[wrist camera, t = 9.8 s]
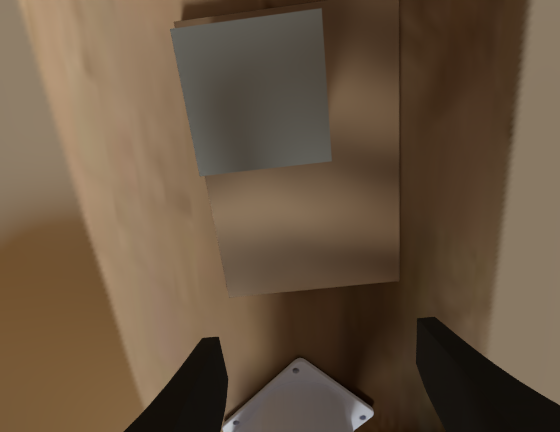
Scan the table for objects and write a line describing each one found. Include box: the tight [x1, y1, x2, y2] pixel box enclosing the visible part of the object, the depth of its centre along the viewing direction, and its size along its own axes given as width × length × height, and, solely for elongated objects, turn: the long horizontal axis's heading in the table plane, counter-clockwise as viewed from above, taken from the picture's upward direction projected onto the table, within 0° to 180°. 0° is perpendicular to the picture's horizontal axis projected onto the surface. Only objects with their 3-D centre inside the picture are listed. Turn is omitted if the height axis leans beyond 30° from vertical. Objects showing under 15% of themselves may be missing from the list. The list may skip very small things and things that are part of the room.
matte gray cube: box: [170, 8, 332, 176], centre depth 15 cm, size 5×5×6 cm
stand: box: [174, 0, 400, 298], centre depth 18 cm, size 16×11×5 cm
